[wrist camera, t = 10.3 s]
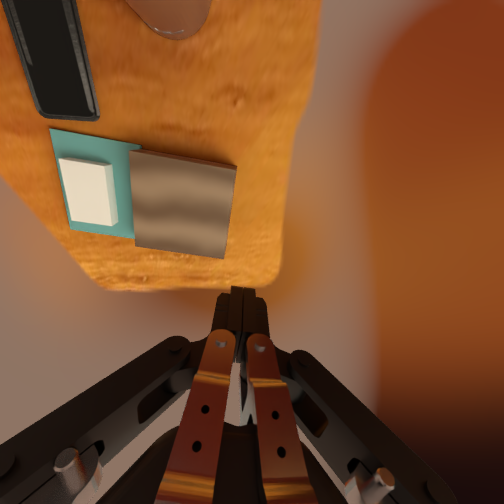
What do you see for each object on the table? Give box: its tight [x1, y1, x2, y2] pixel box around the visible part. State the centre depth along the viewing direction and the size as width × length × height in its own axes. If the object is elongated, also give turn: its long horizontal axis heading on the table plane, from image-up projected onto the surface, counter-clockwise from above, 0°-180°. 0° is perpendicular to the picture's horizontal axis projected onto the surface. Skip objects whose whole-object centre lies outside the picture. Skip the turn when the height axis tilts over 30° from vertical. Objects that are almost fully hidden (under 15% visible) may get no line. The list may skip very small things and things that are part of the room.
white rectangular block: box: [59, 157, 118, 226], centre depth 34 cm, size 9×6×2 cm, turn 171°
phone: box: [1, 0, 100, 122], centre depth 27 cm, size 8×1×15 cm
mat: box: [50, 129, 142, 239], centre depth 35 cm, size 15×12×1 cm
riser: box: [129, 149, 237, 259], centre depth 35 cm, size 14×14×4 cm
